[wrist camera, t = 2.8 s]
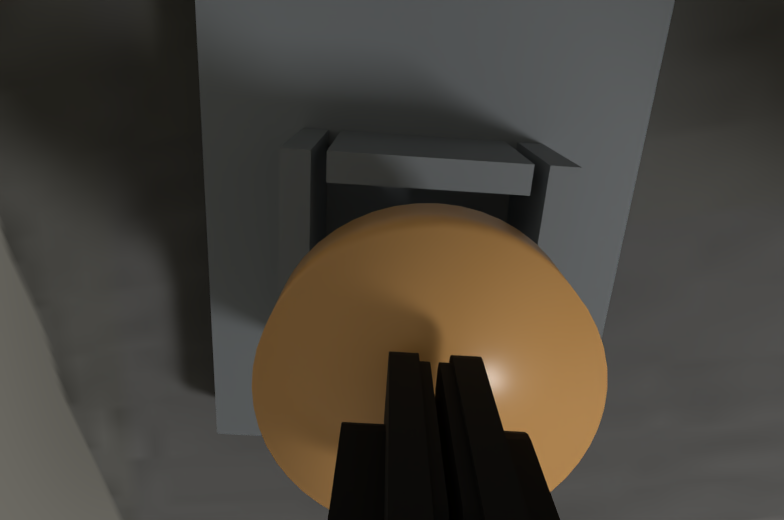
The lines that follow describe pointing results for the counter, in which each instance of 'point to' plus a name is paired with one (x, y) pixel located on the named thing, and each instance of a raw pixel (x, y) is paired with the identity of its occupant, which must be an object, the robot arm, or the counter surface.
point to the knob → (425, 336)
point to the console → (413, 136)
